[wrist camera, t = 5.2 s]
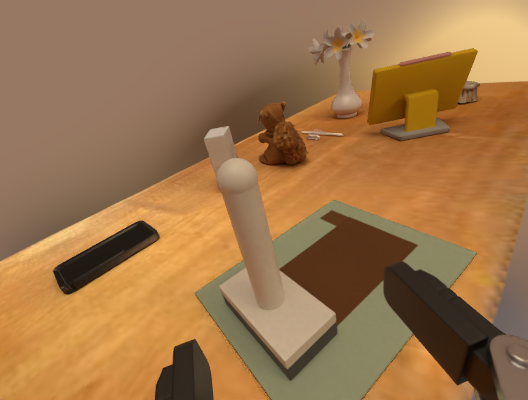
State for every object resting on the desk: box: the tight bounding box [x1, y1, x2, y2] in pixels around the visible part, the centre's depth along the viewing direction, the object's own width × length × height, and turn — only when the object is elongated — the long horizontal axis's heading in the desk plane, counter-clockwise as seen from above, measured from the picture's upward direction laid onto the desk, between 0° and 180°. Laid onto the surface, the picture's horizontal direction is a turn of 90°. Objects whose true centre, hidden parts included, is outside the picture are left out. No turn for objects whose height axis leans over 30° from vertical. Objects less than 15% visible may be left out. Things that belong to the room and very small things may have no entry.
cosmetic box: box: [204, 126, 238, 178], centre depth 55 cm, size 6×4×12 cm
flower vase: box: [308, 19, 375, 118], centre depth 79 cm, size 13×18×25 cm
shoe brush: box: [458, 81, 480, 103], centre depth 80 cm, size 24×8×5 cm, turn 39°
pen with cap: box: [302, 129, 343, 140], centre depth 73 cm, size 14×4×2 cm, turn 45°
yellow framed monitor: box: [367, 48, 478, 141], centre depth 59 cm, size 20×8×16 cm, turn 90°
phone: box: [53, 221, 159, 294], centre depth 44 cm, size 8×1×15 cm
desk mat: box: [195, 200, 477, 400], centre depth 31 cm, size 20×26×1 cm
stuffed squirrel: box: [256, 102, 308, 165], centre depth 61 cm, size 10×14×13 cm
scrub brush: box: [217, 158, 338, 381], centre depth 23 cm, size 11×6×18 cm, turn 38°
